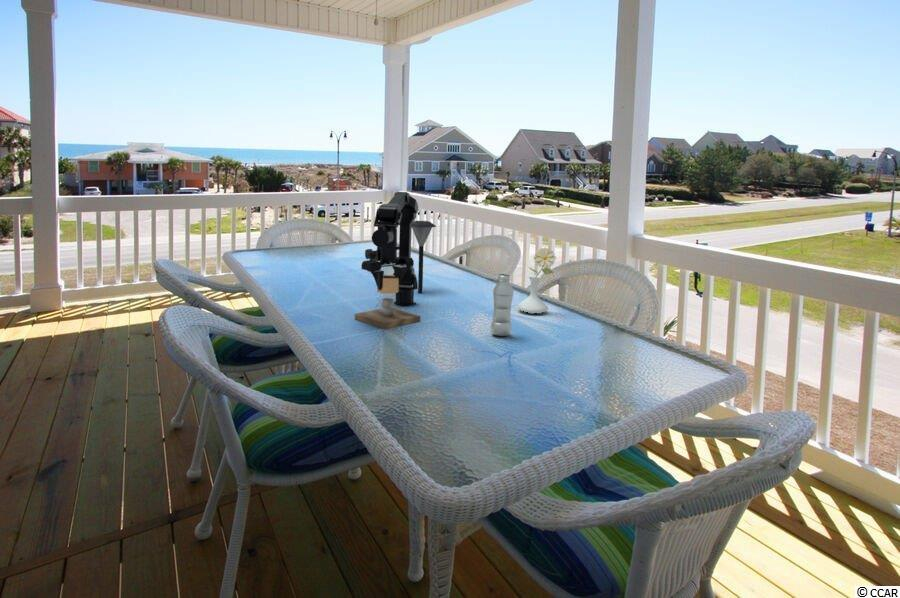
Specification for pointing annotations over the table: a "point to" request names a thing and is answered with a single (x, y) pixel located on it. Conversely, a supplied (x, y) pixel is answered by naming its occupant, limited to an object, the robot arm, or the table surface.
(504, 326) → the plastic bottle
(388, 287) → the brown octagonal cup
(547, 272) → the flower in vase
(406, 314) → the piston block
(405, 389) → the table surface
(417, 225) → the solar garden light
